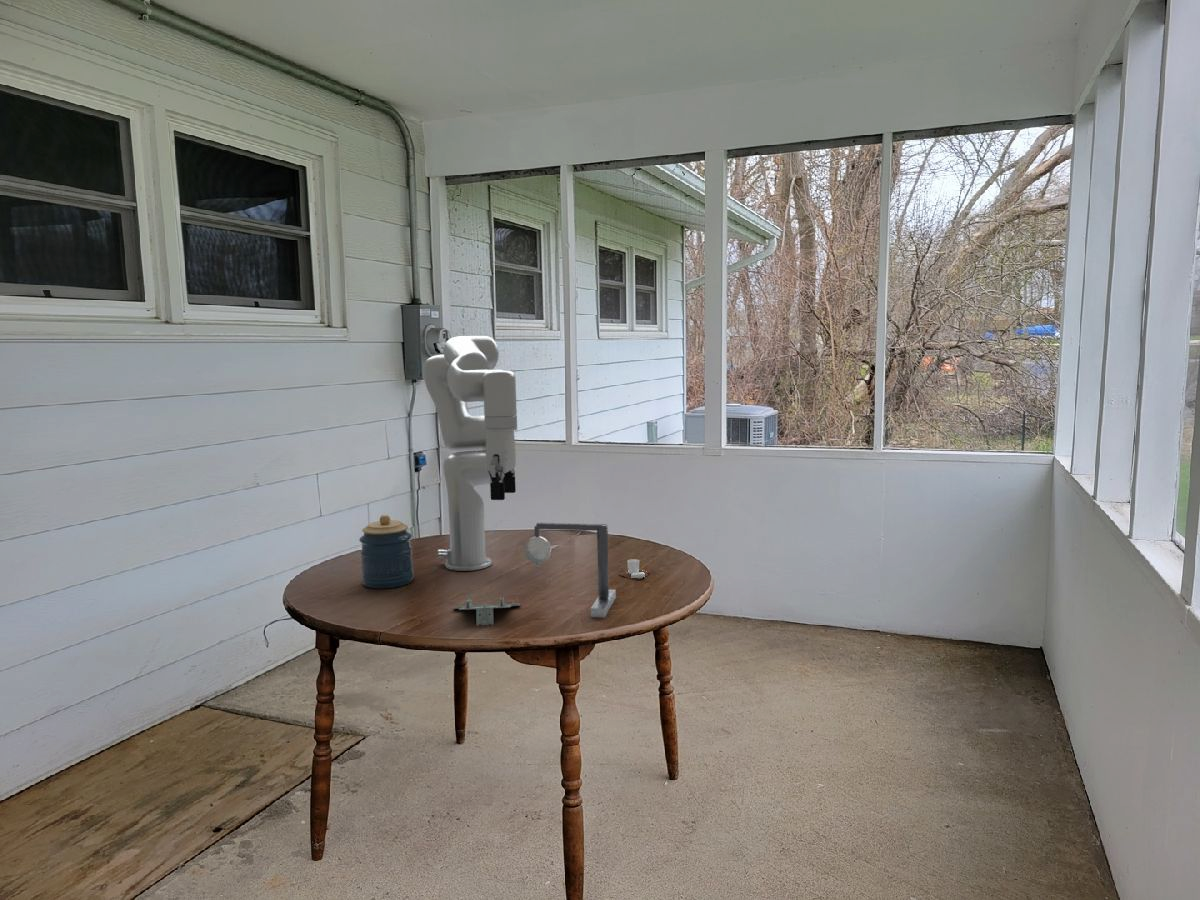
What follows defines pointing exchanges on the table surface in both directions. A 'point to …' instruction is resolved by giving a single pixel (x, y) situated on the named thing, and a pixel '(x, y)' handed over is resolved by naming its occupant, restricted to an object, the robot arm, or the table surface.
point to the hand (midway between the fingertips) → (503, 496)
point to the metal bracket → (484, 611)
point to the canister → (386, 554)
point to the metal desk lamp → (540, 550)
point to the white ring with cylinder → (634, 569)
